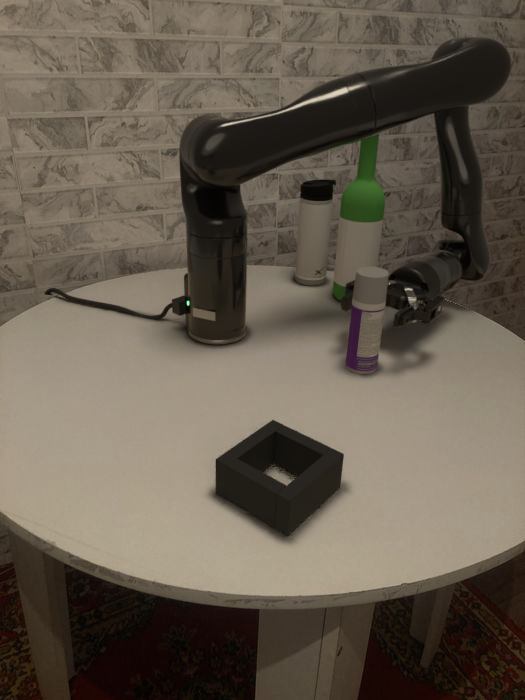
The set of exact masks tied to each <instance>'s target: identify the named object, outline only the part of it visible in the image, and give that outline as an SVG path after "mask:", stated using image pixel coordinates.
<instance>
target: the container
mask: <svg viewBox="0 0 525 700" xmlns="http://www.w3.org/2000/svg"><path fill="white" fill-rule="evenodd" d="M389 276H390V274H389V271H388V270H387V269H385V268H382V267H380V266H379V267H378V266H377V267H373V266H365V267H360V268H358V269H357V270H356V277H355V284H354V291H353V299H352V306H351V310H350V317H349V326H348V334H347V335H348V337H347V345H346V353H345V354H346V355H345V364H344V365H345V368H346V370H348V371H349V372H351V373H354V374H357V375H370V374H373V373H374V372H376V371H377V369H378V361H379V355H380V349H381V348H380V347H381V339H382V332H383V326H384V318H385V311H386V307H385V303H386V294H387V285H388V277H389Z"/></svg>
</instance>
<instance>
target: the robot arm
mask: <svg viewBox="0 0 525 700" xmlns="http://www.w3.org/2000/svg"><path fill="white" fill-rule="evenodd" d="M512 66H513V63H512V57H511V54H510V51H509V50H508V49H507V47H506V46H505V45H504V44H503V43H501V42H500V41H498V40H497V39H495V38H494V39H493V38H490V37H486V36H476V37H475V36H474V37H473V36H472V37H471V36H470V37H455V38H450V39H448V40H445V41H444V42H442V43H441V44H440V45H439V46H438V47H437V48H436V50H435V51H434V52H433V55H432V57H431V59H430V60H429V61H425V62H420V63H413V64H403V65H392V66H386V67H379V68H378V67H377V68H373V69H368V70H363V71H359V72H355V73H350V74H348V75H345V76H341V77H338V78H335V79H332V80H329V81H326V82H324V83H321V84H320V85H317V86H315V87H314V88H312V89H310V90H309V91H307V92H305V93H304V94H302V95H301V96H300V97H298V98H297V99H295V100H294V101H292V102H290V103H289V104H287V105H285V106H283V107H281V108H278V109H274V110H271V111H268V112H264V113H261V114H260V113H259V114H256V115H255V114H254V115H251V116H247V117H246V116H245V117H241V118H228V117H226V116H222V115H220V114H219V115H218V114H215V113H206V114H200V115H199V116H196V117H194V118H193V119H191V120H190V121H189V122H188V124H186V126H185V128H184V129H183V131H182V133H181V136H180V141H179V149H178V150H179V151H178V159H179V162H178V163H179V179H180V180H179V181H180V182H179V183H180V196H181V197H180V198H181V206H182V211H183V215H184V219H185V230H186V231H185V238H186V240H185V241H186V266H187V270H186V271H187V272H186V273H184V275H183V292H184V293H183V294H184V295H181V296H178V297H174V298H172V299H171V302H170V303H168V304H167V305H166V306H165V307H164V308H163V310H162V312H160V314H155V315H147V314H143V313H139V312H137V311H134V310H132V309H129V308H128V307H124V306H121V305H118V304H117V305H116V304H113V303H106V302H101V301H97V300H90V299H86V298H80V297H76V296H72V295H69V294H67V293H65V292H64V291H62V290H61V289H60V288H59V289H58V288H57V287H51V288H47V289H46V290H45V292H44V295H50V294H51V293H54V294H57V295H59V296H61V298H64V299H66V300H69V301H71V302H74V303H75V302H76V303H78V304H79V303H80V304H85V305H90V306H94V307H100V308H106V309H110V310H115V311H119V312H122V313H125V314H128V315H130V316H132V317H133V316H134V317H137V318H142V319H147V320H153V321H154V320H155V321H157V320H162V319H164V318H165V317H166V316H167V314H168V312H169V311H170V310H172V313H173V314H175V315H177V316H178V317H181V316H183V315H184V317H185V318H184V322H185V325H184V326H185V329H186V330H187V331H188V335H189V336H190V338H191V339H193V340H194V341H196V342H199V343H203V344H207V345H227V344H231V343H232V344H233V343H235V342H238V341H241V340H242V339H243V338H244V337H245V336H246V335H247V326H246V325H247V283H248V282H247V275H248V274H247V273H248V270H247V269H248V224H249V223H248V219H249V218H248V212H247V210H246V207H245V205H244V201H243V197H242V191H241V185H242V184H245V183H247V182H249V181H252V180H253V179H255V178H258V177H260V176H262V175H264V174H267V173H268V172H271V171H273V170H275V169H277V168H279V167H281V166H283V165H286V164H288V163H292V162H293V161H296V160H300V159H303V158H308V157H311V156H315V155H319V154H323V153H325V152H328V151H331V150H334V149H337V148H338V149H339V148H341V147H345V146H348V145H352V144H355V143H357V142H361V140H364V139H367V138H370V137H372V136H375V135H377V134H379V135H380V134H383V133H385V132H388V131H391V130H393V129H397V128H399V127H401V126H404V125H407V124H410V123H412V122H415V121H417V120H420V119H422V118H424V117H427V116H430V115H432V114H433V119H434V127H435V134H436V141H437V150H438V158H439V169H440V170H439V173H440V188H439V189H440V191H439V193H440V195H439V199H440V201H439V205H440V206H439V209H440V210H439V220H440V221H439V222H440V225H441V226H442V227H443V228H444V229H445V230H448V231H450V232H453V233H455V234H458V235H459V236H460V237H461V238H462V239H457V238H449V237H448V238H441V239H438V240H436V241H435V242H434V243H433V245H432V247H431V248H430V250H429V252H428V253H427V254H426V255H423V256H421V257H418V258H415V259H413V260H411V261H409V262H407V263H405V264H404V265H402V266H400V267H398V268H396V269H394V270H393V271H392V272H391V273H390V274H389V276H388V285H387V294H386V303H385V308H391V309H393V310H396V311H397V312H395V314H394V317H393V324H392V327H393V328H394V329H395V328H396V329H400V328H401V327H406V326H408V325H409V324H411V323H416V322H417V321H421V324H422V325H425V326H427V325H430V324H431V323H432V322H433V321H435V320H436V319H437V318H438V317H439V316H440V315H441V314H442V312H443V307H444V302H445V297H444V296H443V295H444V294H445V293H446V292H447V291H450V289H452V288H453V287H455V286H456V285H457V284H458V283H459V281H460V280H464V281H471V282H477V281H480V280H482V279H483V278H484V277H485V276H486V275H487V273H488V272H489V271H490V267H491V264H492V263H491V262H492V255H491V249H490V245H489V240H488V238H487V233H486V228H485V224H484V219H483V208H484V207H483V206H484V205H483V204H484V173H483V169H482V166H481V162H480V159H479V156H478V153H477V150H476V147H475V144H474V140H473V137H472V131H471V125H470V106H472V105H473V106H474V105H479V104H483V103H485V102H488V101H489V100H491V99H492V98H494V97H496V95H497V94H498V93H500V92H501V91H502V89H503V88H504V87H505V85H506V84H507V82H508V80H509V78H510V76H511V72H512V68H513V67H512ZM354 284H355V280H353V281H351V282H349V283H347V284H346V288H345V296H343V297H342V300H341V301H340V307H341V311H343V312H349V311H351V306H352V299H353V291H354Z"/></svg>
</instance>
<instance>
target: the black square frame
mask: <svg viewBox="0 0 525 700" xmlns="http://www.w3.org/2000/svg"><path fill="white" fill-rule="evenodd" d="M344 457H345V454H344V453H343V452H341V451H339V450H337V449H334V448H332V447H330V446H328V445H327V444H324V443H322V442H320V441H318V440H316V439H315V438H312V437H310V436H308V435H306V434H303V433H302V432H299V431H298V430H295V429H294V428H291V427H289V426H286V425H285V424H283V423H281V422H279V421H277V420H274V419H271V420H270V421H269V422H267V423H266V424H264V425H262V426H261V427H260V428H258V429H257V430H255V431H254V432H253V433H251V434H250V435H249V436H246V437H245V438H244V439H242V440H241V441H239V442H238V443H237V444H236V445H234V446H233V447H231V448H229V449H228V450H227V451H225V452H224V453H223V454H221V455H219V456H218V457H217V458H215V494H217V495H219V496H221V497H222V498H224V499H225V500H227V501H229V502H230V503H232V504H234V505H236V506H237V507H238V508H240V509H242V510H244V511H245V512H246V513H248V514H250V515H252V516H253V517H255V518H257V519H258V520H260V521H262V522H263V523H265V524H266V525H269V526H270V527H271V528H273V529H275V530H276V531H278V532H280V533H282V534H283V535H285V536H287V537H288V536H290V535H291V534H292V533H293V532H294V531H295V530H296V529H297V528H298V527H299V526H300V525H301V524H303V522H305V520H307V518H309V517H310V516H311V515H312V514H313V513H314V512H315V511H316V510H317V509H319V508H320V507H321V505H323V503H325V502H326V501H327V500H328V499H329V498H330V497H331V496H332V495H333V494H334V493H336V492H337V490H339V488H340V487H341V484H342V483H341V482H342V477H343V465H344ZM273 464H275V465H277V466H278V467H280V468H282V469H284V470H286V471H288V472H290V473H292V474H293V475H295V476H297V477H295V478H294V479H293V480H292V481H291V482H290V483H289V482H288V484H285V483H283V482H281V481H279V480H277V479H275V478H274V477H272V476H271V475H268V474H267V473H264V472H265V471H266V470H267V469H268V468H270V467H271V466H272V465H273Z"/></svg>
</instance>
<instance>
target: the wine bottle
mask: <svg viewBox="0 0 525 700" xmlns="http://www.w3.org/2000/svg"><path fill="white" fill-rule="evenodd" d="M379 141H380V134H377V135H375V136H372V137H370V138H367V139H364V140H361V141H360V144H359V145H360V146H359V153H358V154H359V155H358V163H357V172H356V177H355V178H354V180H353V181H351V182H349V183H348V185H347V186H346V187H345V188H344V191H343V192H342V194H341V199H340V209H339V218H338V229H337V237H336V238H337V240H336V248H335V249H336V251H335V260H334V261H335V262H334V272H333V282H332V284H333V285H332V294H333V296H334V297H335V298H336V299H337V300H338V301H340V302H341V300H342V297H343V296H345V288H346V284H347V283H349V282H351V281H353V280H355V277H356V270H357V269H358V268H360V267H365V266H373V267H378V266H379V265H378V264H379V258H380V250H381V240H382V232H383V225H384V224H383V223H384V215H385V207H386V197H385V192H384V190H383V188H382V186H381V184H380V183H378V181H376V177H375V175H376V167H377V159H378V149H379Z"/></svg>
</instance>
